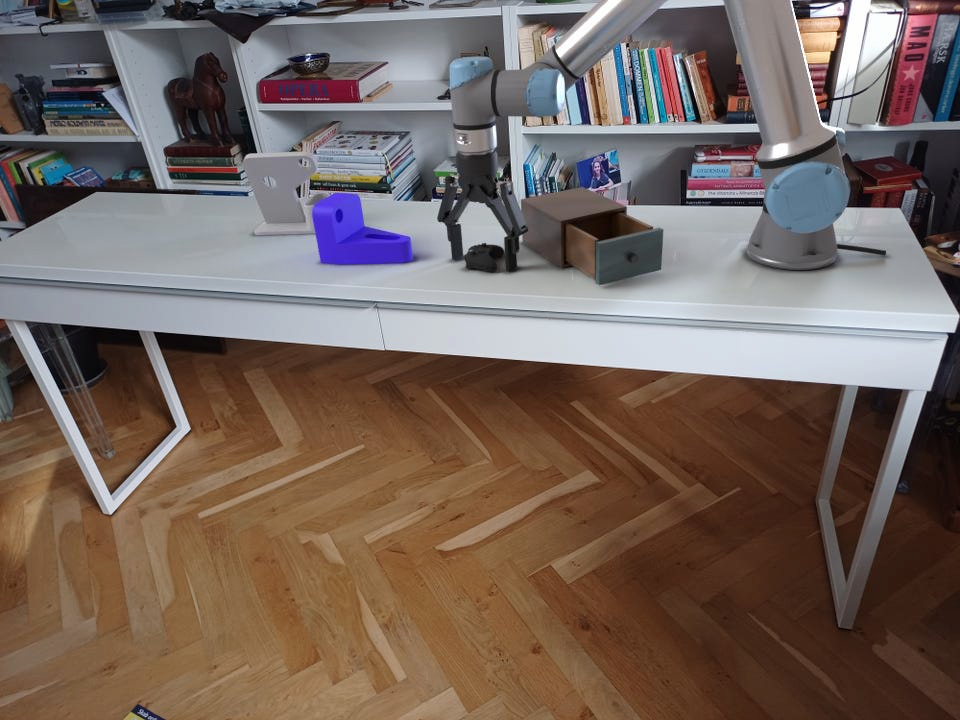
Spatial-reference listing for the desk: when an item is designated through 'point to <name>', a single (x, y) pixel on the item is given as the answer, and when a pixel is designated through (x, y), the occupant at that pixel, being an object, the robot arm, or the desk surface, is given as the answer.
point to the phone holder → (282, 191)
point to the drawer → (613, 247)
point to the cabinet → (560, 218)
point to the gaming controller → (483, 257)
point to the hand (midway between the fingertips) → (483, 263)
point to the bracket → (354, 235)
